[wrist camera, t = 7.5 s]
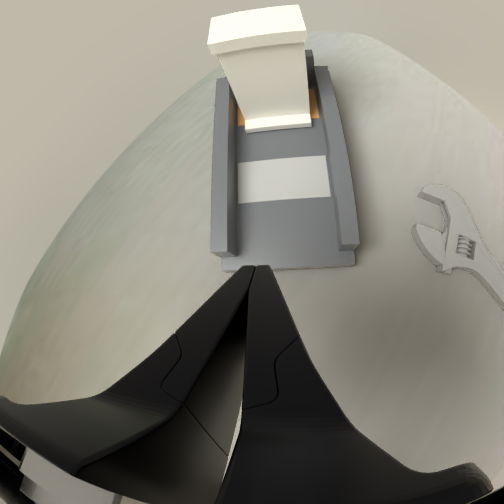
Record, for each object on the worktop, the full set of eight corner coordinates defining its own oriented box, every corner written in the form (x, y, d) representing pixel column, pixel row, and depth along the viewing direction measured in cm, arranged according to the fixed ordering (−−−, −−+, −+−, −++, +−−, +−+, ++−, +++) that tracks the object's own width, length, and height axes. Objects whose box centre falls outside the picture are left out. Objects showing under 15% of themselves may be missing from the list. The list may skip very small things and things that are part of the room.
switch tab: (313, 126, 22) (308, 36, 12) (244, 133, 23) (206, 51, 13) (306, 85, 23) (296, 0, 13) (243, 92, 24) (212, 13, 14)
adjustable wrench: (552, 350, 15) (561, 352, 13) (523, 398, 15) (532, 402, 13) (432, 180, 21) (439, 172, 19) (393, 228, 21) (399, 223, 20)
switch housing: (352, 266, 21) (365, 255, 16) (227, 272, 23) (202, 264, 18) (325, 86, 24) (324, 47, 19) (228, 96, 26) (212, 61, 21)
